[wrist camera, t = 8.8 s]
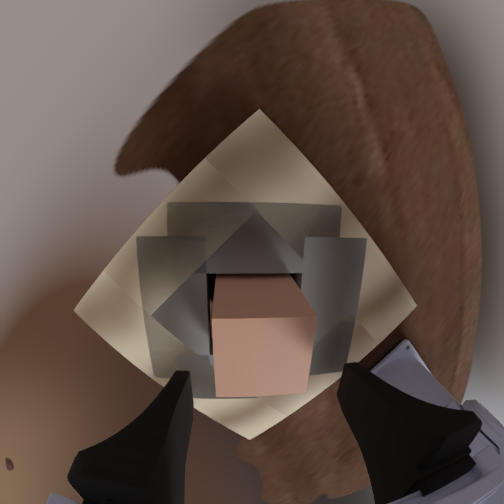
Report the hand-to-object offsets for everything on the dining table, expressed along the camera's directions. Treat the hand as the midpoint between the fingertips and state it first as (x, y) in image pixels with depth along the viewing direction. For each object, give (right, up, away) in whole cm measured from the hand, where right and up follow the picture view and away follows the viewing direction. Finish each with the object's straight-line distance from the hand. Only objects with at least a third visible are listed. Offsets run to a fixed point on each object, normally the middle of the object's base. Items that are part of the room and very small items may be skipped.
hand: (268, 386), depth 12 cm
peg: (-1, +3, +9) cm, 10 cm away
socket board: (-1, +2, +9) cm, 10 cm away
